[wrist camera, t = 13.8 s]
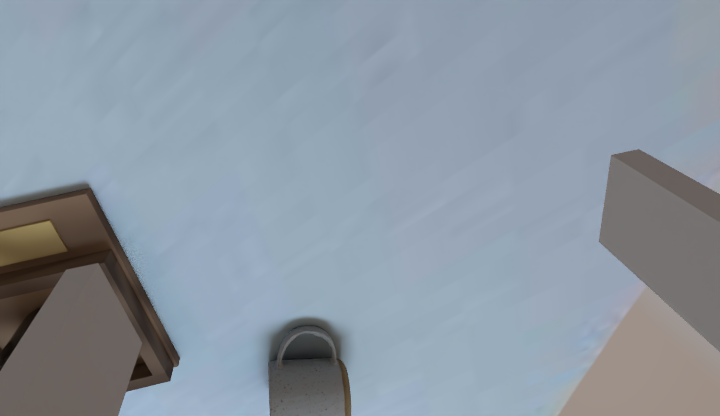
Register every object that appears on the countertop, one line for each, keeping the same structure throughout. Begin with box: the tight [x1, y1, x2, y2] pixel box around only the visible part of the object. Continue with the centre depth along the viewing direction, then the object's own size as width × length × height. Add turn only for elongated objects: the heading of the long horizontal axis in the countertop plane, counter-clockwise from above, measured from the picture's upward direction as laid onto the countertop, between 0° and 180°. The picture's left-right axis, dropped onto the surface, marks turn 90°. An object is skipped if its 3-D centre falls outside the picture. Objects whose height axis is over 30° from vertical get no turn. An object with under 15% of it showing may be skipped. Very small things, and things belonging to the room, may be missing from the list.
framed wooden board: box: [0, 188, 180, 392], centre depth 40 cm, size 20×15×3 cm
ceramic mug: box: [268, 326, 351, 416], centre depth 47 cm, size 11×8×8 cm
